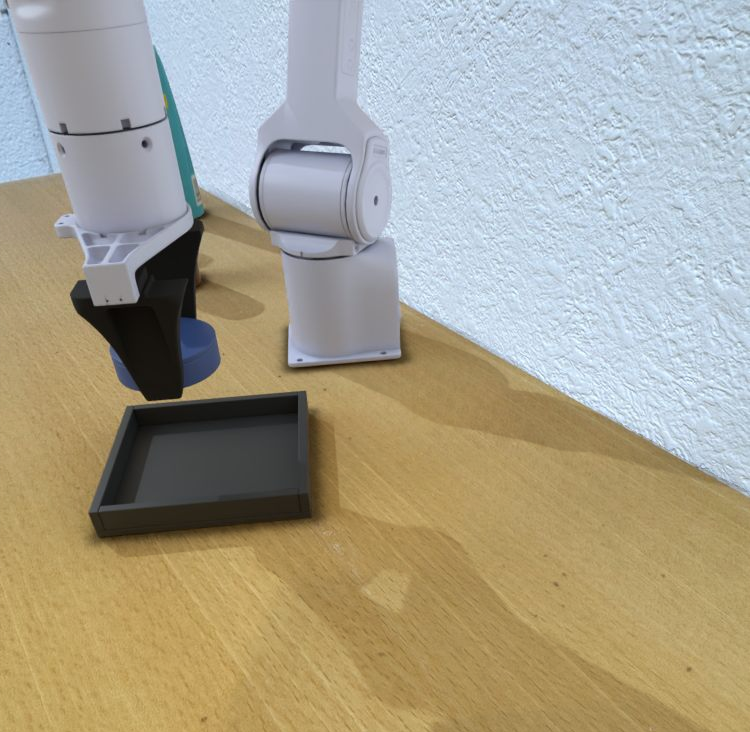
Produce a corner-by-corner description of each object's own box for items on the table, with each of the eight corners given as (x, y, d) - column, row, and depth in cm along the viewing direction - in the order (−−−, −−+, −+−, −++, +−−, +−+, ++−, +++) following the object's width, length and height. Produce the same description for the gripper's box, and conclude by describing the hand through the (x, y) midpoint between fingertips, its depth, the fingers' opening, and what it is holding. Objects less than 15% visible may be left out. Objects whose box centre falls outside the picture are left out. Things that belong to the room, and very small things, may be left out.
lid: (106, 397, 40) (96, 369, 39) (128, 347, 45) (120, 321, 44) (215, 388, 40) (209, 360, 39) (225, 339, 45) (220, 313, 44)
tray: (309, 412, 53) (306, 390, 51) (311, 517, 43) (308, 492, 42) (133, 428, 52) (126, 405, 51) (97, 537, 43) (87, 513, 41)
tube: (159, 212, 93) (119, 41, 81) (194, 205, 95) (159, 37, 82) (178, 227, 88) (137, 47, 76) (213, 219, 90) (180, 42, 77)
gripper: (64, 100, 40) (129, 322, 48) (-28, 166, 28) (78, 440, 37) (189, 91, 40) (231, 314, 48) (146, 154, 29) (211, 429, 37)
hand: (172, 368), depth 43 cm, fingers closed on lid, 6 cm apart
